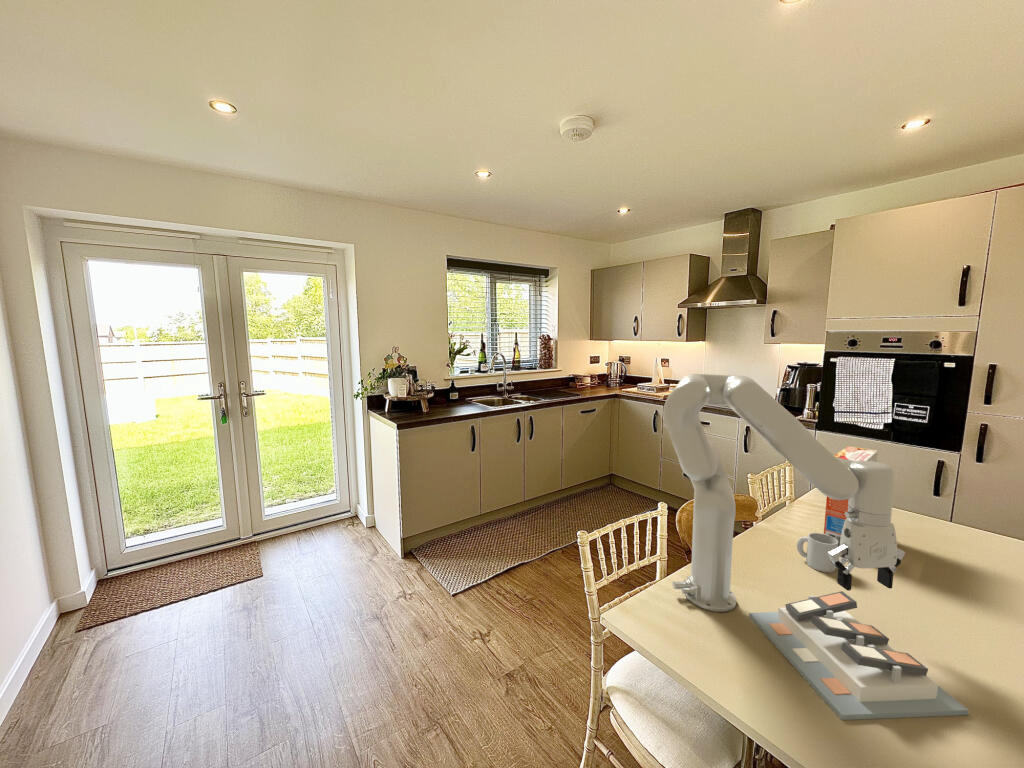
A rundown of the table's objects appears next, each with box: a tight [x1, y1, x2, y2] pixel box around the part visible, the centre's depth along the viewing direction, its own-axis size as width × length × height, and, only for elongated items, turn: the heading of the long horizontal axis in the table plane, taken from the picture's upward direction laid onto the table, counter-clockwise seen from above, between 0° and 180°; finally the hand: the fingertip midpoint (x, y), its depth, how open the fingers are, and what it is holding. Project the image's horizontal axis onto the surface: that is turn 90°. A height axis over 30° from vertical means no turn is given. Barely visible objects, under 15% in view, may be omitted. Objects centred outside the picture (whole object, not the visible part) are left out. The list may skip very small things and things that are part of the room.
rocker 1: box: [785, 590, 858, 621], centre depth 97 cm, size 14×4×2 cm, turn 92°
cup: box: [796, 532, 838, 573], centre depth 126 cm, size 7×10×9 cm
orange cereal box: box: [823, 445, 878, 547], centre depth 139 cm, size 23×8×30 cm, turn 130°
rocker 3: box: [841, 642, 929, 676], centre depth 81 cm, size 14×4×2 cm, turn 92°
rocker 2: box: [811, 616, 890, 645], centre depth 89 cm, size 14×4×2 cm, turn 92°
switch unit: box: [748, 595, 970, 721], centre depth 89 cm, size 24×28×7 cm
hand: (864, 586), depth 97 cm, fingers open, 9 cm apart
